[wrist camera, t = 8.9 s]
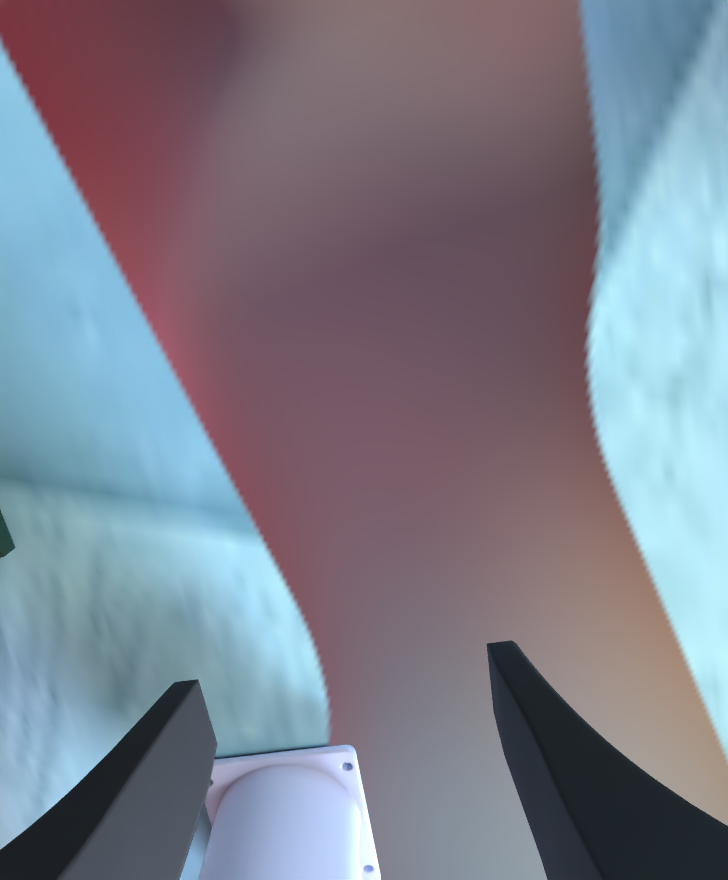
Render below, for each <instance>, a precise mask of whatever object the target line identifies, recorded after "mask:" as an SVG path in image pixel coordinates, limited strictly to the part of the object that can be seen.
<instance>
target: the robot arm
mask: <svg viewBox="0 0 728 880" xmlns="http://www.w3.org/2000/svg"><path fill="white" fill-rule="evenodd" d="M487 651H488V661H489V670H490V680H491V690H492V700H493V709H494V715H495V718H496V723H497V727H498V731H499V735H500V739H501V743H502V747H503V751H504V755H505V758H506V761H507V764H508V767H509V769H510V772H511V775H512V778H513V781H514V783H515V786H516V789H517V792H518V795H519V797H520V800H521V803H522V806H523V809H524V812H525V814H526V817H527V820H528V823H529V825H530V828H531V831H532V834H533V837H534V839H535V842H536V845H537V848H538V851H539V853H540V857H541V860H542V863H543V866H544V870H545V873H546V876H547V879H548V880H728V826H727V825H725V824H723V823H721V822H720V821H718V820H716V819H715V818H713V817H711V816H710V815H708V814H707V813H705V812H703V811H702V810H700V809H699V808H697V807H695V806H694V805H692V804H690V803H689V802H688V801H686V800H685V799H683V798H682V797H680V796H679V795H677V794H676V793H674V792H673V791H671V790H670V789H668V788H667V787H666V786H664V785H663V784H661V783H660V782H658V781H657V780H655V779H654V778H653V777H651V776H650V775H649V774H647V773H646V772H645V771H643V770H642V769H640V768H639V767H638V766H637V765H636V764H634V763H633V762H632V761H630V760H629V759H628V758H627V757H625V756H624V755H623V754H622V753H621V752H619V751H618V750H617V749H616V748H615V747H613V746H612V745H611V744H610V743H609V742H608V741H606V740H605V739H604V738H603V737H602V736H601V735H600V734H598V733H597V732H596V731H595V730H594V729H593V728H592V727H591V726H590V725H589V724H588V723H587V722H586V721H585V720H584V719H583V718H581V717H580V716H579V715H578V714H577V713H576V712H575V711H574V710H573V709H572V708H571V707H570V706H569V705H568V704H567V703H566V702H565V700H564V699H563V698H562V697H561V696H560V695H559V694H558V693H557V692H556V691H555V690H554V689H553V688H552V687H551V686H550V684H549V683H548V682H547V681H546V680H545V679H544V678H543V677H542V675H541V674H540V673H539V672H538V671H537V669H536V668H535V667H534V666H533V665H532V663H531V662H530V661H529V660H528V658H527V657H526V656H525V655H524V653H523V652H522V651H521V649H520V648H519V647H518V645H517V644H516V643H515V642H513V641H505V642H496V643H488V644H487ZM216 748H217V741H216V738H215V734H214V731H213V728H212V724H211V721H210V717H209V714H208V711H207V707H206V704H205V701H204V697H203V694H202V690H201V687H200V684H199V680H198V679H197V680H189V681H181V682H174V683H173V684H172V686H171V687H170V688H169V689H168V690H167V691H166V692H165V693H164V694H163V695H162V696H161V697H160V698H159V699H158V700H157V701H156V703H155V704H154V705H153V706H152V707H151V708H150V709H149V710H148V711H147V712H146V714H145V715H144V716H143V717H142V718H141V719H140V720H139V721H138V722H137V723H136V725H135V726H134V727H133V728H132V729H131V730H130V731H129V732H128V733H127V734H126V735H125V736H124V737H123V738H122V740H121V741H120V742H119V743H118V744H117V745H116V746H115V747H114V748H113V749H112V750H111V751H110V752H109V753H108V754H107V755H106V756H105V757H104V758H103V759H102V760H101V761H100V762H99V763H98V764H97V765H96V766H95V767H94V768H93V769H92V770H91V771H90V772H89V773H88V774H87V775H86V776H85V777H84V778H83V779H82V780H81V781H80V782H79V783H78V784H77V785H76V786H75V787H74V788H73V789H72V790H71V791H70V792H69V793H68V794H66V795H65V796H64V797H63V798H62V799H61V800H60V801H59V802H58V803H57V804H55V805H54V806H53V807H52V808H51V809H50V810H49V811H47V812H46V813H45V814H44V815H43V816H42V817H40V818H39V819H38V820H37V821H36V822H35V823H34V824H32V825H31V826H30V827H29V828H27V829H26V830H25V831H24V832H22V833H21V834H20V835H19V836H17V837H16V838H15V839H14V840H12V841H11V842H10V843H8V844H7V845H6V846H5V847H3V848H2V849H1V850H0V880H179V879H180V876H181V873H182V870H183V867H184V864H185V861H186V858H187V855H188V852H189V849H190V845H191V842H192V839H193V836H194V833H195V830H196V827H197V824H198V821H199V817H200V814H201V811H202V808H203V805H204V803H205V806H206V809H207V812H208V816H209V819H210V822H211V825H212V831H211V835H210V839H209V842H208V846H207V849H206V853H205V857H204V860H203V864H202V867H201V871H200V875H199V878H198V880H380V870H379V865H378V860H377V855H376V851H375V845H374V840H373V835H372V831H371V825H370V820H369V815H368V811H367V805H366V801H365V796H364V791H363V786H362V781H361V776H360V771H359V766H358V761H357V756H356V751H355V749H354V748H353V747H352V746H350V745H337V746H328V747H319V748H310V749H302V750H293V751H285V752H276V753H267V754H259V755H250V756H241V757H233V758H224V759H215V753H216ZM214 759H215V760H214ZM346 762H348V763H349V764H345V763H346Z"/></svg>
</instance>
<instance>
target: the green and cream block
mask: <svg viewBox="0 0 728 880" xmlns="http://www.w3.org/2000/svg"><path fill="white" fill-rule="evenodd" d="M14 548H15V546H14V544H13V541H12V539H11V536H10V534H9V531H8V529H7V526H6V524H5V521H4V519H3V516H2V514H1V511H0V557H4V556H6V555H7V554H8V553H9V552H11V551H12V550H13V549H14Z"/></svg>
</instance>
